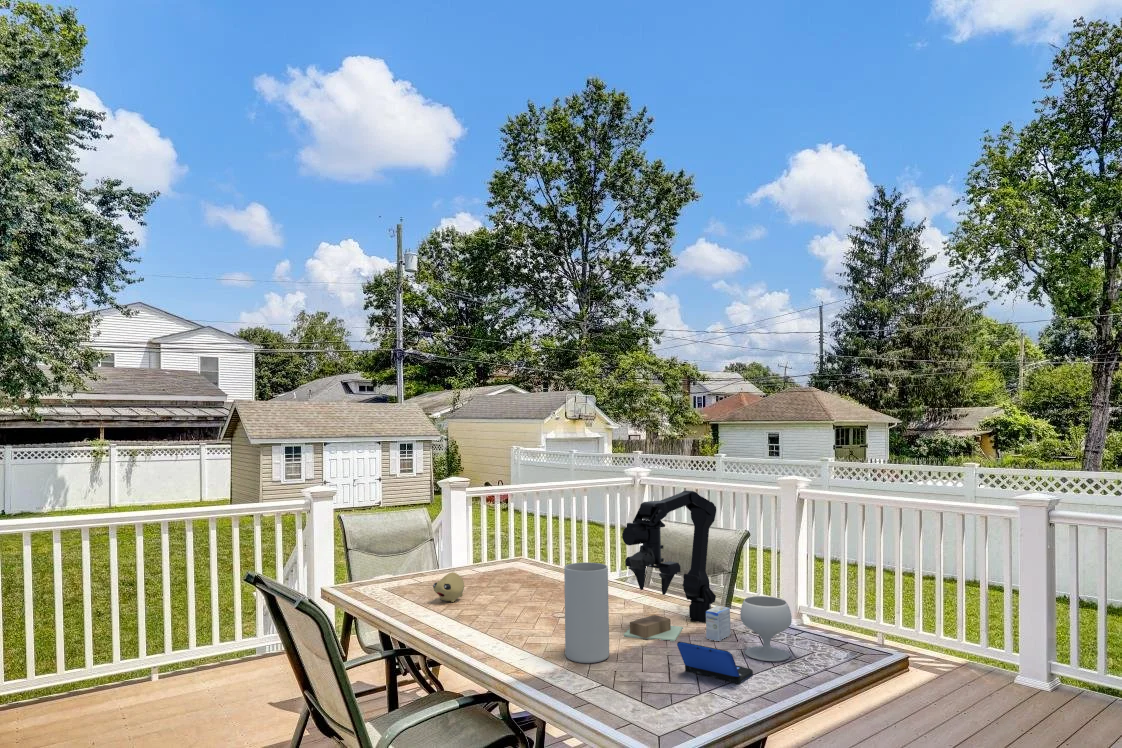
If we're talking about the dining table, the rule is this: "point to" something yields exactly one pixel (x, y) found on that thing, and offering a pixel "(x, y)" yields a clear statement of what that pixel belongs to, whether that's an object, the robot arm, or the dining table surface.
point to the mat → (666, 635)
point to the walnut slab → (650, 626)
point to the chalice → (766, 624)
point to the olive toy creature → (449, 587)
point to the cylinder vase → (586, 612)
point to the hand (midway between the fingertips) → (652, 592)
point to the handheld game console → (712, 663)
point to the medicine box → (717, 623)
